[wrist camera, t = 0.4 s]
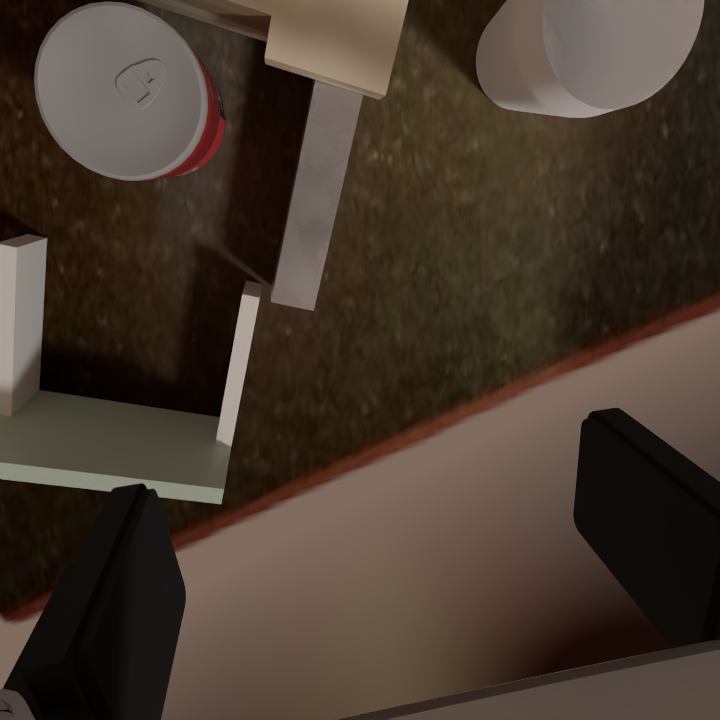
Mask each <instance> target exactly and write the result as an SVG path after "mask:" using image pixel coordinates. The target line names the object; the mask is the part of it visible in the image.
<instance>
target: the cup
mask: <svg viewBox="0 0 720 720" xmlns="http://www.w3.org/2000/svg"><path fill="white" fill-rule="evenodd" d="M703 8H704V0H507V1H506V2H505V3H504V4H503V6H502V7H501V8H500V9H499V11H498V12H497V13H496V14H495V16H494V17H493V18H492V20H491V21H490V22H489V23H488V25H487V26H486V28H485V29H484V31H483V33H482V35H481V38H480V40H479V44H478V47H477V53H476V71H477V76H478V80H479V83H480V85H481V87H482V89H483V91H484V93H485V94H486V95H487V97H488V98H489V99H490V100H491V101H492V102H494V103H495V104H497V105H498V106H500V107H502V108H505V109H509V110H516V111H524V112H531V113H539V114H547V115H554V116H563V117H571V118H585V117H592V116H597V115H600V114H604V113H607V112H610V111H614V110H617V109H621V108H625V107H629V106H632V105H635V104H637V103H639V102H641V101H644V100H645V99H647V98H649V97H650V96H652V95H653V94H655V93H656V92H657V91H659V90H660V89H661V88H662V87H663V86H664V85H665V84H666V83H667V82H668V81H669V80H670V79H671V78H672V77H673V76H674V75H675V74H676V72H677V71H678V70H679V68H680V67H681V65H682V64H683V62H684V61H685V59H686V57H687V56H688V54H689V52H690V50H691V48H692V46H693V43H694V41H695V39H696V36H697V33H698V30H699V27H700V23H701V19H702V14H703Z"/></svg>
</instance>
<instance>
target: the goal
mask: <svg viewBox="0 0 720 720" xmlns="http://www.w3.org/2000/svg"><path fill="white" fill-rule="evenodd" d="M46 249H47V238H44V237H40V236H35V235H30V234H27V235H23V236H20V237H16V238H12V239H9V240H5V241H2V242H0V479H5V480H14V481H23V482H32V483H40V484H49V485H58V486H67V487H76V488H84V489H93V490H102V491H111V490H112V489H113V488H115V487H121V486H127V485H133V484H140V483H143V484H145V486H146V487H147V489H155V490H156V492H157V494H158V497H164V498H173V499H181V500H190V501H199V502H208V503H217V504H221V502H222V497H223V492H224V486H225V480H226V474H227V468H228V462H229V456H230V450H231V445H232V440H233V434H234V429H235V424H236V419H237V413H238V408H239V403H240V398H241V393H242V387H243V382H244V377H245V372H246V366H247V361H248V356H249V351H250V346H251V340H252V335H253V330H254V325H255V320H256V314H257V309H258V304H259V299H260V292H261V285H262V284H260V283H256V282H251V281H246V282H245V286H244V290H243V293H242V298H241V304H240V309H239V315H238V320H237V326H236V332H235V337H234V343H233V348H232V354H231V359H230V365H229V370H228V376H227V382H226V387H225V393H224V398H223V404H222V409H221V415H220V417H215V416H208V415H202V414H195V413H188V412H182V411H175V410H168V409H162V408H155V407H149V406H142V405H135V404H129V403H122V402H116V401H109V400H102V399H96V398H89V397H82V396H76V395H69V394H63V393H56V392H49V391H43V390H39V385H40V366H41V346H42V327H43V307H44V288H45V268H46Z"/></svg>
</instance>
